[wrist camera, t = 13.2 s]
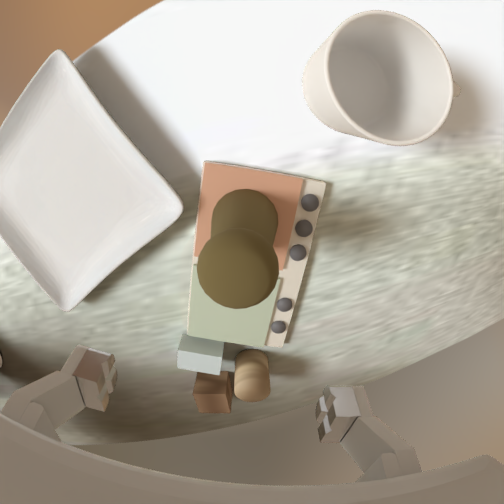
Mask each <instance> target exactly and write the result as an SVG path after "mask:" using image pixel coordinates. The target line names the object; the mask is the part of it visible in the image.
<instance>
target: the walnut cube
mask: <svg viewBox="0 0 504 504" xmlns="http://www.w3.org/2000/svg"><path fill="white" fill-rule="evenodd" d="M193 396H194V399H195V401H196V404H197V407H198V410H199V412H200V413H230V412H231V401H232V386H231V382H230V377H229V373H228V371H220V375H214V374H208V373H202V372H197V377H196V382H195V386H194V391H193Z"/></svg>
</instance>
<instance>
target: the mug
mask: <svg viewBox="0 0 504 504" xmlns="http://www.w3.org/2000/svg"><path fill="white" fill-rule="evenodd" d="M302 89H303V94H304V98H305V101H306V103H307V105H308V107H309V109H310V110H311V112H312V113H313V114H314V115H315V117H316V118H317V119H318V120H319V121H321V122H322V123H323V124H324V125H326V126H328V127H329V128H331V129H333V130H335V131H338V132H341V133H344V134H349V135H353V136H357V137H361V138H364V139H368V140H372V141H376V142H379V143H383V144H387V145H394V146H407V145H413V144H416V143H419V142H422V141H424V140H426V139H428V138H429V137H430V136H432V135H433V134H434V133H435V132H436V131H437V130H439V129H440V127H441V126H442V125H443V123H444V122H445V120H446V118H447V117H448V114H449V112H450V109H451V105H452V101H453V97H456V96H459V95H460V93H461V89H460V87H459V86H458V84H457V83H455V82H454V81H453V77H452V72H451V68H450V65H449V63H448V60H447V58H446V56H445V54H444V52H443V50H442V48H441V47H440V45H439V44H438V43H437V41H436V40H435V39H434V37H433V36H432V35H431V34H430V33H429V32H428V31H427V30H425V29H424V28H423V27H422V26H421V25H419V24H418V23H416V22H415V21H413V20H411V19H409V18H407V17H405V16H403V15H400V14H397V13H394V12H390V11H382V10H371V11H365V12H361V13H358V14H355V15H353V16H351V17H349V18H347V19H346V20H345V21H343V22H342V23H341V24H340V25H339V26H338V27H337V28H336V29H335V30H334V31H333V32H332V34H331V35H330V36H329V37H328V38H327V39H326V40H325V41H324V42H323V43H322V45H321V46H320V47H319V48H318V49H317V50H316V51H315V52H314V54H313V55H312V56H311V57H310V59H309V60H308V62H307V64H306V66H305V68H304V72H303V77H302Z"/></svg>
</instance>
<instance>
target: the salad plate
mask: <svg viewBox="0 0 504 504" xmlns="http://www.w3.org/2000/svg"><path fill="white" fill-rule="evenodd" d="M183 211H184V204H183V201H182V199H181V197H180V196H179V195H178V193H177V192H176V191H175V190H174V189H173V187H172V186H171V185H170V184H169V183H168V181H167V180H166V179H165V178H164V177H163V176H162V175H161V174H160V172H159V171H158V170H157V169H156V168H155V167H154V166H153V165H152V164H151V162H150V161H149V160H148V159H147V158H146V157H145V156H144V155H143V154H142V153H141V152H140V150H139V149H138V148H137V147H136V146H135V144H134V143H133V142H132V141H131V140H130V139H129V138H128V136H127V135H126V134H125V133H124V132H123V130H122V129H121V128H120V127H119V125H118V124H117V123H116V122H115V121H114V119H113V118H112V117H111V116H110V114H109V113H108V112H107V110H106V109H105V108H104V106H103V105H102V103H101V102H100V101H99V99H98V98H97V97H96V95H95V94H94V92H93V91H92V90H91V88H90V87H89V85H88V84H87V82H86V81H85V80H84V78H83V77H82V75H81V74H80V72H79V71H78V69H77V68H76V66H75V65H74V63H73V62H72V61H71V59H70V58H69V57H68V55H67V54H66V53H65V52H64V51H63V50H61V49H58V50H55V51H54V52H53V53H52V54H51V55H50V56H49V57H48V59H47V60H46V61H45V62H44V63H43V65H42V66H41V68H40V69H39V70H38V71H37V73H36V74H35V75H34V77H33V78H32V79H31V81H30V82H29V84H28V85H27V86H26V88H25V89H24V91H23V92H22V94H21V95H20V97H19V98H18V100H17V101H16V103H15V104H14V106H13V107H12V109H11V111H10V112H9V114H8V115H7V117H6V119H5V120H4V122H3V124H2V125H1V127H0V237H1V238H2V239H3V241H4V242H5V243H6V245H7V246H8V247H9V249H10V250H11V251H12V253H13V254H14V255H15V257H16V258H17V259H18V261H19V262H20V263H21V264H22V266H23V267H24V268H25V269H26V271H27V272H28V273H29V274H30V275H31V277H32V278H33V279H34V280H35V281H36V283H37V284H38V285H39V286H40V287H41V289H42V290H43V291H44V292H45V293H46V294H47V296H48V297H49V298H50V299H51V300H52V301H53V302H54V303H55V304H56V305H57V306H58V307H59V308H60V309H61V310H62V311H65V312H69V311H71V310H72V309H73V308H75V307H76V306H77V305H78V304H79V303H80V302H81V301H82V300H83V299H84V298H85V297H86V296H87V295H88V294H89V293H90V292H91V291H92V290H93V289H94V288H95V287H97V286H98V285H99V284H100V283H101V282H102V281H103V280H104V279H105V278H106V277H107V276H108V275H110V274H111V273H112V272H113V271H114V270H115V269H116V268H118V267H119V266H120V265H121V264H122V263H123V262H125V261H126V260H127V259H128V258H130V257H131V256H132V255H133V254H135V253H136V252H137V251H138V250H140V249H141V248H142V247H144V246H145V245H146V244H148V243H149V242H150V241H152V240H153V239H154V238H155V237H157V236H158V235H160V234H161V233H162V232H164V231H165V230H166V229H167V228H169V227H170V226H171V225H172V224H173V223H174V222H175V221H176V220H177V219H178V218H179V217H180V216H181V215H182V213H183Z"/></svg>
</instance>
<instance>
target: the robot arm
mask: <svg viewBox="0 0 504 504" xmlns="http://www.w3.org/2000/svg"><path fill="white" fill-rule="evenodd" d="M114 362H115V358H114V355H113V354H110V353H106V352H103V351H100V350H96V349H93V348H89V347H86V346H82V345H77V346H76V347H75V349H74V350H73V352H72V353H71V355H70V356H69V358H68V360H67V361H66V363H65V364H64V366H63V368H62V369H61V371H55V372H53V373H51V374H49V375H47V376H45V377H43V378H41V379H39V380H37V381H35V382H32V383H30V384H28V385H26V386H24V387H22V388H20V389H18V390H16V391H14V392H13V393H12V395H11V396H10V398H9V399H8V401H7V403H6V404H5V406H4V407H3V409H2V411H1V412H0V504H504V465H503V464H502V463H500V462H499V461H497V460H496V459H495V458H493V457H491V456H489V455H482V456H478V457H475V458H472V459H469V460H465V461H462V462H459V463H455V464H452V465H448V466H444V467H441V468H437V469H433V470H428V471H424V472H422V470H421V467H420V464H419V461H418V458H417V455H416V452H415V449H414V448H413V447H412V446H410V445H409V444H408V443H407V442H406V441H405V440H404V439H402V438H401V437H400V436H399V435H398V434H397V433H395V432H394V431H393V430H392V429H391V428H390V427H388V426H387V425H386V424H385V423H384V422H383V421H382V420H380V419H379V418H378V417H377V416H373V413H372V410H371V407H370V404H369V401H368V398H367V395H366V392H365V389H364V387H363V386H340V385H327V386H326V387H325V388H324V390H323V395H324V396H322V397H321V398H319V400H318V402H317V406H316V420H317V421H318V422H319V423H320V424H321V425H320V426H319V428H318V432H319V439H320V442H329V443H333V442H336V443H340V444H341V446H342V447H343V448H344V449H345V450H346V452H347V453H348V454H349V455H350V456H351V458H352V459H353V460H354V461H355V463H356V464H357V465H358V466H359V467H360V469H361V470H362V471H363V472H364V474H363V475H362V476H361V477H360V478H359V479H358V480H357V481H356V482H355V483H346V484H333V485H316V486H315V485H314V486H271V485H269V486H268V485H251V484H237V483H228V482H218V481H210V480H203V479H196V478H189V477H184V476H178V475H173V474H168V473H163V472H158V471H153V470H149V469H145V468H141V467H137V466H133V465H129V464H125V463H122V462H118V461H115V460H111V459H108V458H104V457H102V456H98V455H95V454H93V453H89V452H87V451H84V450H80V449H78V448H75V447H73V446H70V445H68V444H65V443H62V442H61V440H60V438H59V436H58V434H57V433H56V431H55V429H57V428H58V427H59V426H61V425H62V424H64V423H65V422H66V421H68V420H69V419H70V418H72V417H73V416H75V415H76V414H77V413H79V412H80V411H81V410H83V409H84V408H85V407H89V408H92V409H96V410H99V411H103V412H105V410H106V407H107V405H108V403H109V400H110V398H109V393H111V392H113V391H114V388H115V386H116V381H117V370H116V368H115V367H114V366H113V364H114ZM1 366H2V358H1V354H0V368H1Z"/></svg>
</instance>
